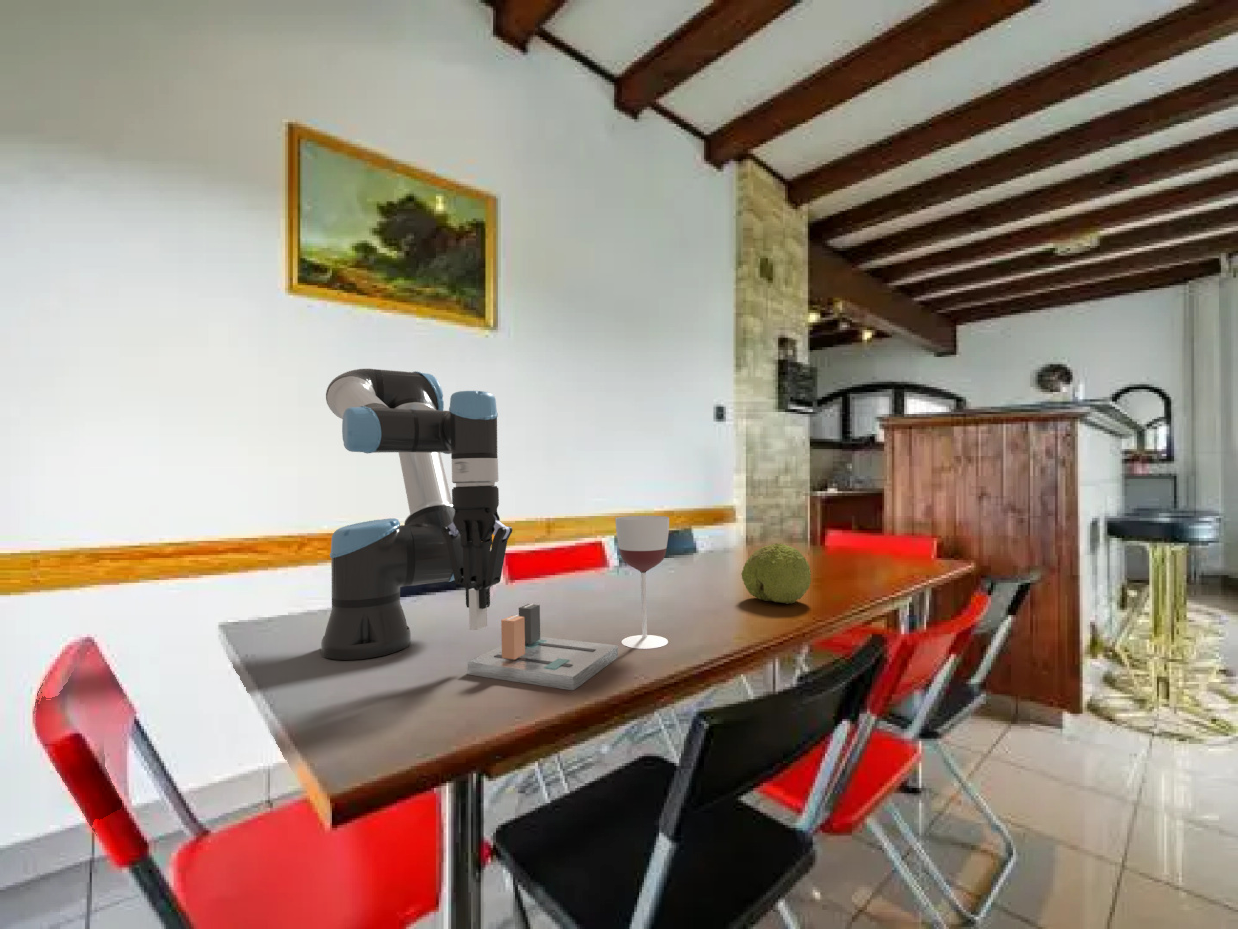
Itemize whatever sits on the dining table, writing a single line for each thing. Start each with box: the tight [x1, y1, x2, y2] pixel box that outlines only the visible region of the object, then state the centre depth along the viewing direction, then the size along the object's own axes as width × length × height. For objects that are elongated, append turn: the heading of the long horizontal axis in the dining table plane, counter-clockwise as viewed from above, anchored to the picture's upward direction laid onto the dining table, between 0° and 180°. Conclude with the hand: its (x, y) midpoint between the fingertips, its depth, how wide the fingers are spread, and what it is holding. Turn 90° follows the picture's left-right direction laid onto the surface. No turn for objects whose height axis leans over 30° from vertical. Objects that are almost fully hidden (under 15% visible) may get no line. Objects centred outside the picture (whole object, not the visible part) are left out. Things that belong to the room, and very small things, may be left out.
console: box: [466, 636, 619, 691], centre depth 95 cm, size 19×16×2 cm
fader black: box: [518, 602, 541, 644], centre depth 101 cm, size 2×3×6 cm
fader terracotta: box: [500, 614, 525, 660], centre depth 92 cm, size 2×3×6 cm
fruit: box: [740, 543, 812, 605], centre depth 137 cm, size 16×14×15 cm
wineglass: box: [615, 515, 670, 650], centre depth 107 cm, size 9×10×23 cm
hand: (478, 627), depth 95 cm, fingers closed
